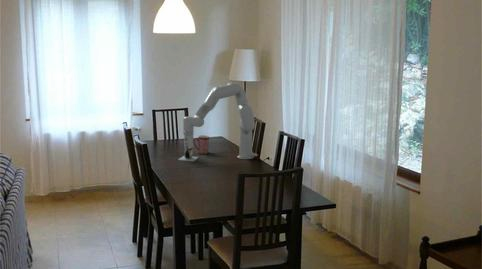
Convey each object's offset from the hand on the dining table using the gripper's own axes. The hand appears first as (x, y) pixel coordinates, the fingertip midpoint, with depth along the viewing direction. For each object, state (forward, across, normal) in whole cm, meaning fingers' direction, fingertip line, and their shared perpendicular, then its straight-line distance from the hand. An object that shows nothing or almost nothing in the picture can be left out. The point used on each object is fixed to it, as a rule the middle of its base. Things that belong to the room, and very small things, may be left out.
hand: (188, 156), depth 391 cm
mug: (+2, +23, -3) cm, 23 cm away
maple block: (0, 0, 0) cm, 0 cm away
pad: (+2, 0, 0) cm, 2 cm away
